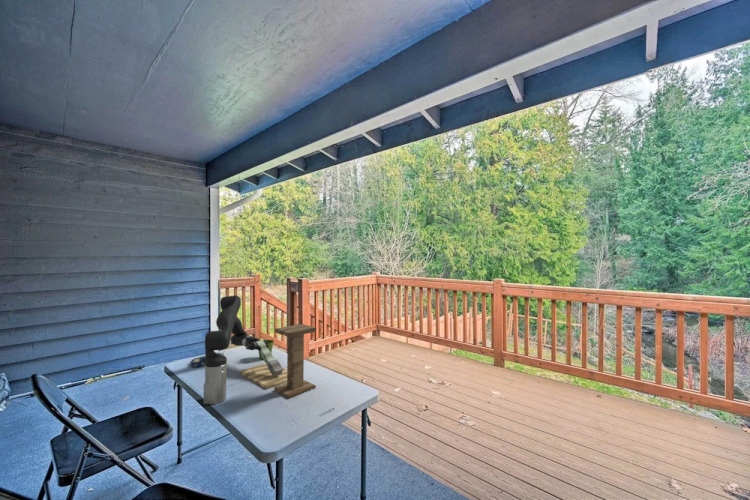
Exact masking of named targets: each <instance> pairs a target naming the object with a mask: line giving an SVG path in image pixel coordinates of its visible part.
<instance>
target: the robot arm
mask: <svg viewBox="0 0 750 500" xmlns="http://www.w3.org/2000/svg"><path fill="white" fill-rule="evenodd" d="M219 301H220V302H219V303H220V308H221V311H220V312H219V314H218V315H217V318H216V321H215V324H216V327H217V329H218V330H211V331H207V332H206V334H205V337H204V350H205V352H204V354H205V355H204V356H205V363H204V367H205V371H204V383H203V402H202V403H203V405H204V404H205V405H217V404H218V403H222V402H223V401H225V400H227V367H228V366H227V363H228V362H227V361H228V360H227V356H225V355H224V356H223V354H222V355H220V354H217V353H218V352H217V351H223V350H227V349H228V348H229V346H230V344H232V345H234V346H237V347H239V346H240V347H241V346H243V347H244V348H245V350H249V351H255V350H256V351H258V350H259V351H261V347H260V346H257V345H256V342H257V341H260V339H259V338H258V337H255V336H253V335H249V334H248V332H246V330H245V329H244V328H243V324H242V320H241V319H240V318H239V317H238V316H237V315H238V312H239V311H240V309H241V304H242V300H241V297H240V296H239V295H235V294H234V295H227V296H222V297H221V298H220V300H219ZM264 343H265V344H266V346H267V348H268V342H267V341H264ZM259 351H258V352H259Z"/></svg>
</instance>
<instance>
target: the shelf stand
mask: <svg viewBox="0 0 750 500" xmlns="http://www.w3.org/2000/svg"><path fill="white" fill-rule="evenodd" d="M274 333H276V334H278V335H282V336H283V337H284V336H285V337H287V353H286V354H287V357H286V360H287V363H286V370H287V383H284V384H281V385H278V386H275V387H273V388H274V389H273V390H274V391H275V392H276V393H278V394H280V395H282V396H284V397H286V398H287V399H289V400H290V399H292V398H295V397H297V395H298V396H300V395H302V393H303V394H304V392H305V393H307V391H308V392H309V390H310V391H312V390H311V389H313V390H315V389H316V387H317V385H315V384H313V383H312V382H309V381H308V380H305V379H304V370H305V369H304V367H305V364H304V361H305V359H304V356H305V355H304V353H305V351H304V350H305V346H304V345H305V344H304V343H305V335H306V334H311V333H317V327H315V326H310V325H307V324H303V323H299V324H293V325H289V326H288V325H287V326H283V327H277V328H275V329H274ZM314 388H315V389H314Z"/></svg>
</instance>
